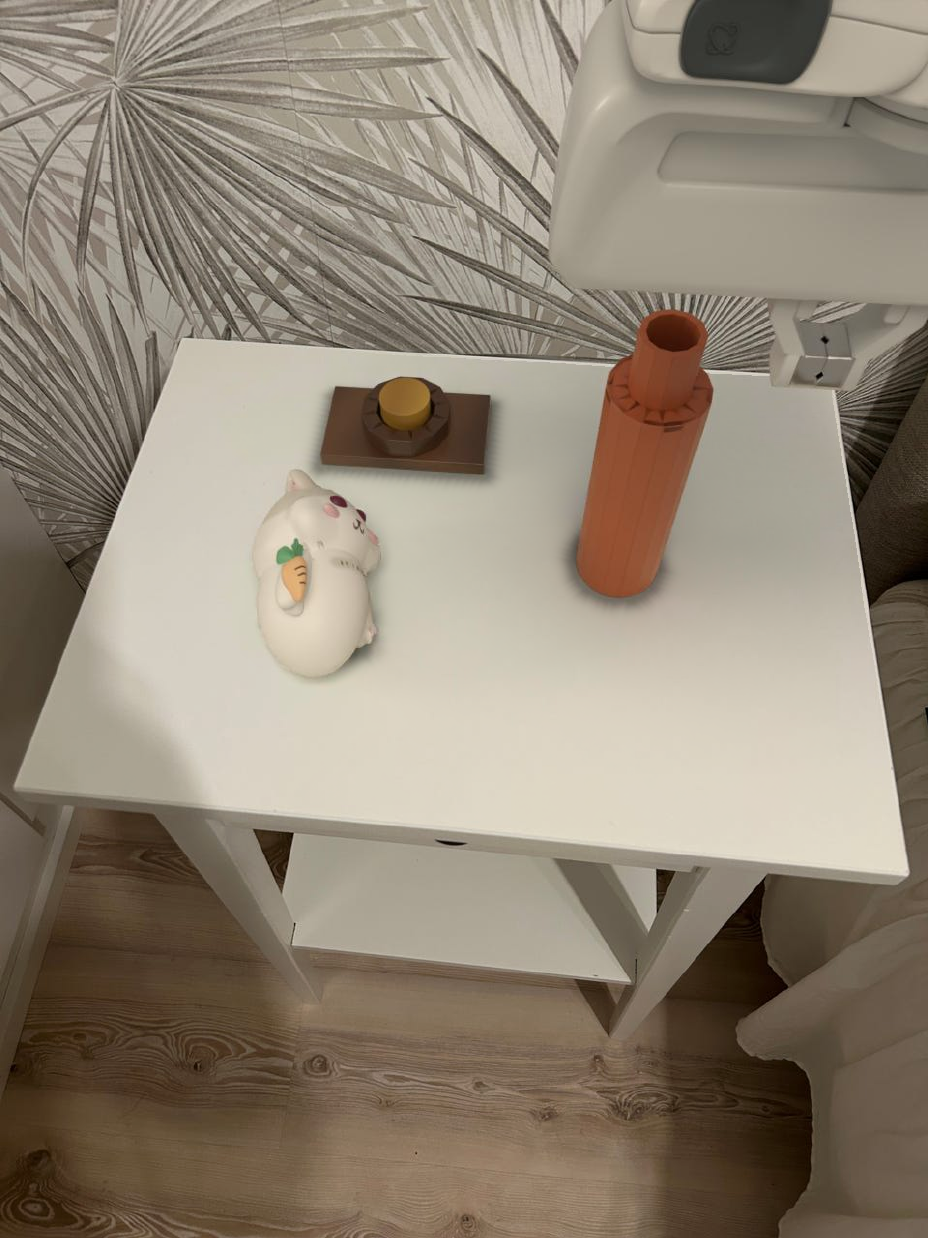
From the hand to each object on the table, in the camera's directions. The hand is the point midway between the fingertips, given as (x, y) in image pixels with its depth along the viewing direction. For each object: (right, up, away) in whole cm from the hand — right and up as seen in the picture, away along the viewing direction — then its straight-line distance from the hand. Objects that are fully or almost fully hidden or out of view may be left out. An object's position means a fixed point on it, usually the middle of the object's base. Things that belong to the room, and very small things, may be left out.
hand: (808, 376), depth 33 cm
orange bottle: (-2, -5, +33) cm, 34 cm away
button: (-17, +7, +38) cm, 42 cm away
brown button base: (-17, +6, +40) cm, 44 cm away
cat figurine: (-23, -8, +32) cm, 40 cm away
